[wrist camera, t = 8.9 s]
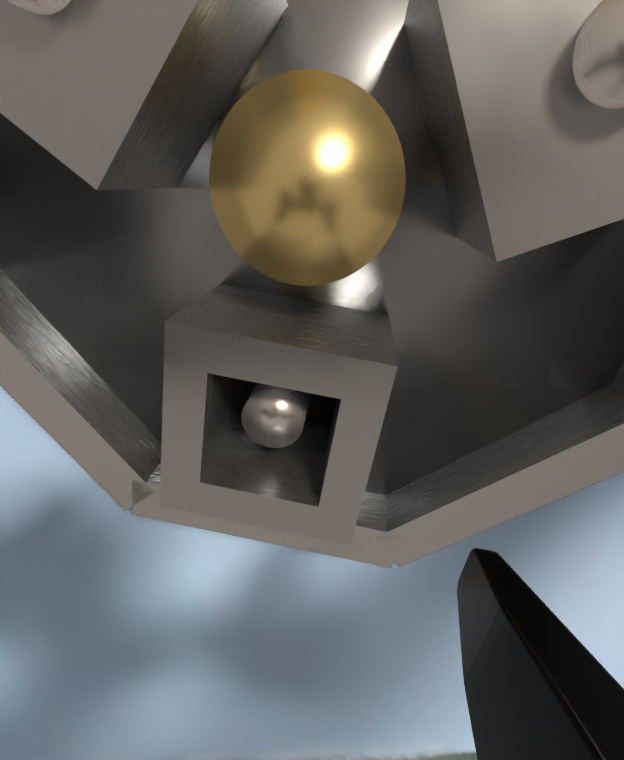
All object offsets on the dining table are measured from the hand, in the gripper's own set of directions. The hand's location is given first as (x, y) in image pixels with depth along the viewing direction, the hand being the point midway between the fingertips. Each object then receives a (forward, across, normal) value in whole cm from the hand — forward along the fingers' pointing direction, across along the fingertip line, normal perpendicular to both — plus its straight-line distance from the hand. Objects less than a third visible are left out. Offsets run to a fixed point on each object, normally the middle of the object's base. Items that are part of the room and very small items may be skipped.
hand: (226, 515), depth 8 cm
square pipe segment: (+6, 0, 0) cm, 6 cm away
